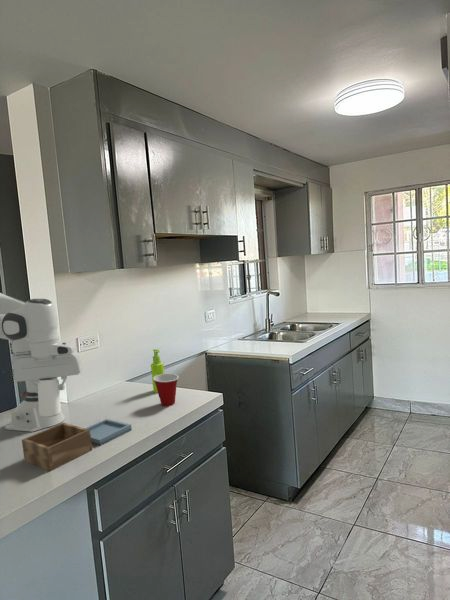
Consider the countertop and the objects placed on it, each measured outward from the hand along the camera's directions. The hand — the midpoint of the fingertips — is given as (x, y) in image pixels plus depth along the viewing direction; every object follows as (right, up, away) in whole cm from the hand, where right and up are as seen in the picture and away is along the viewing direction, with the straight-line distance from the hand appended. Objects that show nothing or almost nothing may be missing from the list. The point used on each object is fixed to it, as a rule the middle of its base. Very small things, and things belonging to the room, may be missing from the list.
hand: (50, 391), depth 132 cm
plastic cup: (+32, -15, +43) cm, 56 cm away
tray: (+12, -19, +16) cm, 28 cm away
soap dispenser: (+26, -14, +62) cm, 69 cm away
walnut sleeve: (+2, -22, +2) cm, 22 cm away
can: (0, -8, +1) cm, 8 cm away
